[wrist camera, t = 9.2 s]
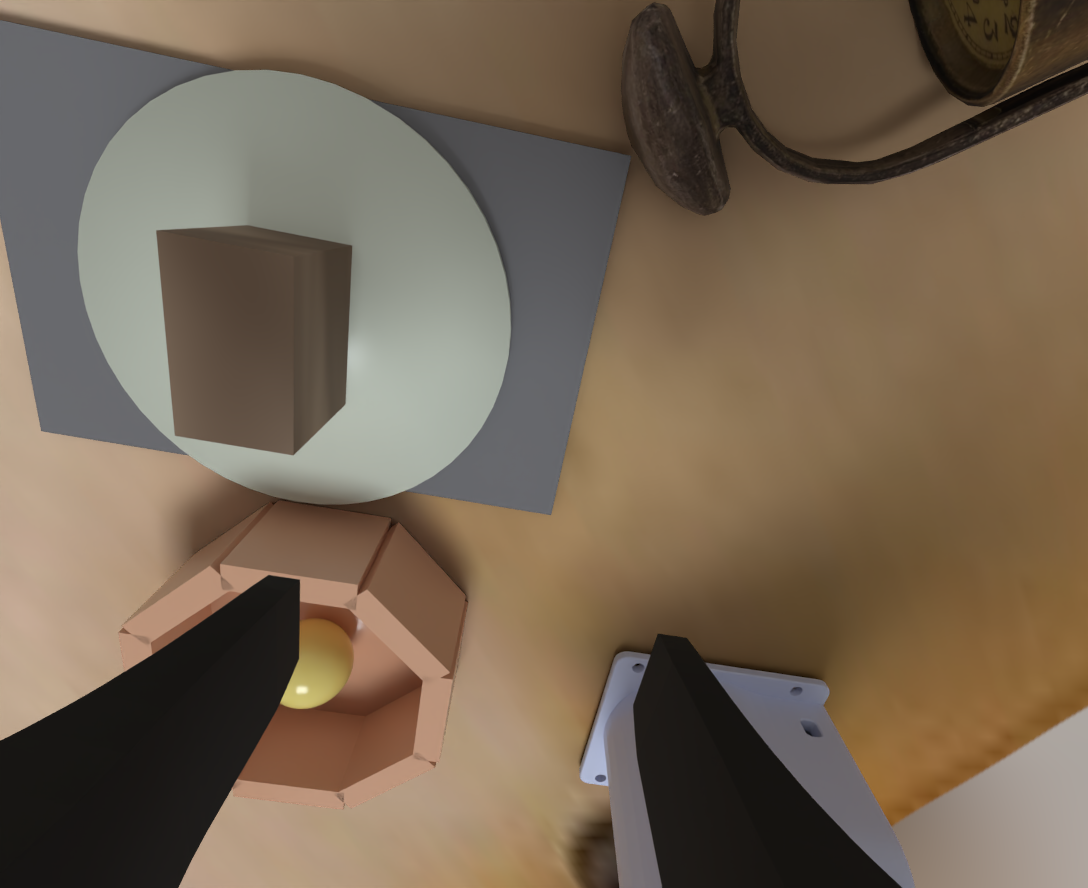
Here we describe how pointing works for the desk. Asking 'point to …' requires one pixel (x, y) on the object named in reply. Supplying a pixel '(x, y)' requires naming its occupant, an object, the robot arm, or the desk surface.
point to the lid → (294, 287)
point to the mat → (470, 148)
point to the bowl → (330, 648)
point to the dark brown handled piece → (721, 101)
